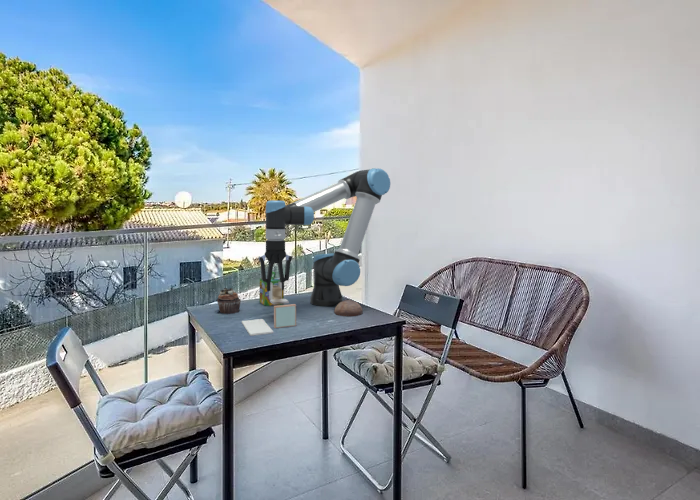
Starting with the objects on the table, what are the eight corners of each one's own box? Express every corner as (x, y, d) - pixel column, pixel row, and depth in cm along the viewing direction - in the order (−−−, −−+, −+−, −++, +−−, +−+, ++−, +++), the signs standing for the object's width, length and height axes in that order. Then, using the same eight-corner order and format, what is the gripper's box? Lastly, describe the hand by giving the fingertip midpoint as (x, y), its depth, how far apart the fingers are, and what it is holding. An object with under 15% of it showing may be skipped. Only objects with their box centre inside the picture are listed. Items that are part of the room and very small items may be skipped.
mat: (262, 320, 159) (262, 318, 159) (273, 333, 142) (273, 331, 142) (241, 322, 156) (241, 321, 156) (250, 335, 139) (250, 334, 139)
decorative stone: (333, 310, 177) (333, 298, 176) (360, 309, 178) (360, 297, 177) (335, 317, 165) (335, 304, 165) (364, 316, 166) (364, 303, 166)
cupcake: (239, 314, 169) (239, 290, 168) (215, 314, 167) (215, 290, 166) (242, 308, 178) (241, 286, 177) (219, 309, 177) (218, 286, 176)
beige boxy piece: (280, 296, 167) (280, 284, 167) (288, 303, 156) (288, 290, 155) (265, 297, 165) (265, 285, 165) (273, 304, 153) (273, 291, 153)
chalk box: (259, 302, 190) (258, 271, 188) (278, 300, 194) (277, 269, 193) (264, 306, 182) (264, 273, 180) (284, 304, 186) (284, 272, 185)
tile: (295, 324, 153) (294, 304, 152) (296, 326, 152) (296, 305, 151) (274, 327, 150) (273, 305, 149) (275, 328, 148) (274, 306, 148)
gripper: (256, 240, 153) (257, 301, 155) (297, 240, 160) (297, 299, 162) (253, 239, 160) (253, 298, 162) (292, 239, 167) (292, 295, 169)
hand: (275, 298), depth 162 cm, fingers closed on beige boxy piece, 3 cm apart
